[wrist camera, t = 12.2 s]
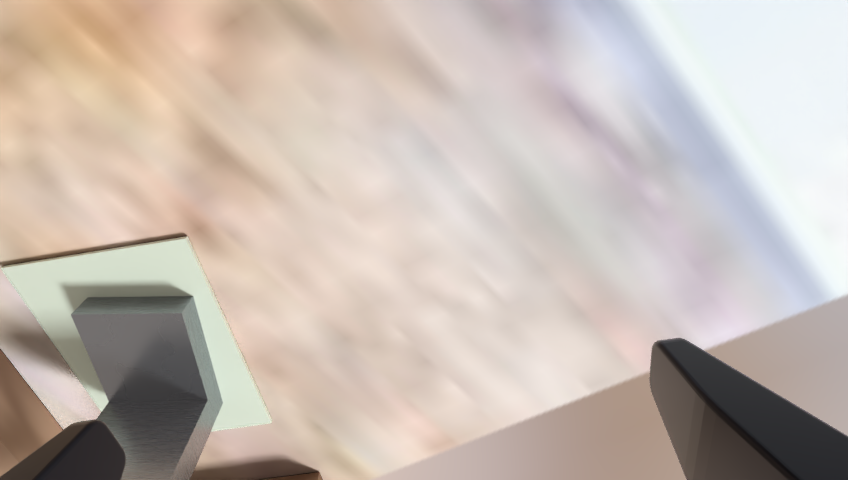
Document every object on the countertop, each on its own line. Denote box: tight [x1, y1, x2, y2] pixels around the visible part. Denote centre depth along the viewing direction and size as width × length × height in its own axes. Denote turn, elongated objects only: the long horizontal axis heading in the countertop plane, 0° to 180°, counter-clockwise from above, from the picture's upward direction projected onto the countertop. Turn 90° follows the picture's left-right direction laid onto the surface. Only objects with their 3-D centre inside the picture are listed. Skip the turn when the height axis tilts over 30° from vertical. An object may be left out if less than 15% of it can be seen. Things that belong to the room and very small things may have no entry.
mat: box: [1, 236, 272, 431], centre depth 23 cm, size 11×8×1 cm
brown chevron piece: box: [0, 350, 322, 480], centre depth 23 cm, size 20×14×2 cm
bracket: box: [71, 296, 223, 480], centre depth 20 cm, size 6×4×6 cm
